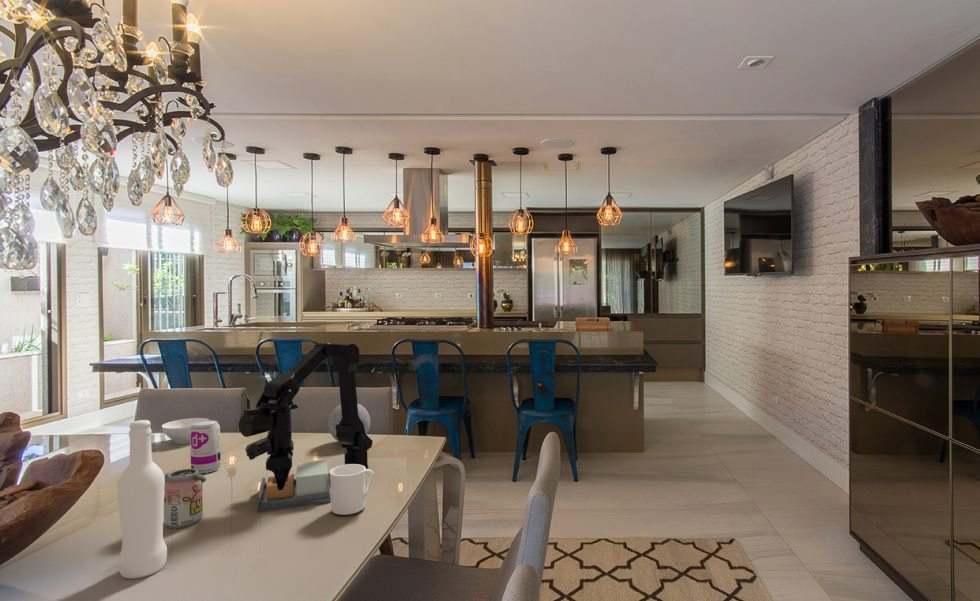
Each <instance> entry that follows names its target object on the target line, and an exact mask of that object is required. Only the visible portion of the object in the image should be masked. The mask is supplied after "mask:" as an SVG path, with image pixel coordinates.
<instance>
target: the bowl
mask: <svg viewBox="0 0 980 601" xmlns="http://www.w3.org/2000/svg"><path fill="white" fill-rule="evenodd" d="M207 420H210V418H209V419H208V418H203V417H193V418H191V417H190V418H183V419H182V418H181V419H176V420H172V421H169V422H165V423H162V425H161V430H162V431H163V434H165V435H166V437H167V438H169V439H171V441H173V443H175V444H176V445H188V444H190V429H191V427H192V424H193V423H196V422H200V421H207Z"/></svg>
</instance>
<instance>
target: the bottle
mask: <svg viewBox="0 0 980 601" xmlns="http://www.w3.org/2000/svg"><path fill="white" fill-rule="evenodd" d="M151 425H152V424H151V421H150V420H148V419H140V420H135V421H132V422H131V423H130V424H129V429H130V430H129V432H128V437H129V464H128V466H127V467H126V468H125V469H124V470H123V472H122V473H121V474H120V476H119V479H118V482H117V486H116V487H117V490H116V492H117V501H118V511H119V512H118V513H119V522H120V530H121V531H120V533H121V551H120V552H119V555H118V556H119V557H118V560H117V561H118V570H119V574H120V576H121V577H122V578H124V579H129V580H131V579H132V580H133V579H134V580H135V579H142V578H145V577H149V576H151V575H154V574H156V573H157V572H159V571H160V570H162V569H163V568H164V566H165V564H166V562H167V558H168V548H167V544H166V542H165V540H164V536H163V535H164V534H163V532H164V531H163V527H164V488H165V483H166V482H165V480H166V478H165V474H164V472H163V470H162V468H160V467H159V466H158V464H156V463H155V462H154V461H153V452H152V437H151V436H152V429H151Z"/></svg>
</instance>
